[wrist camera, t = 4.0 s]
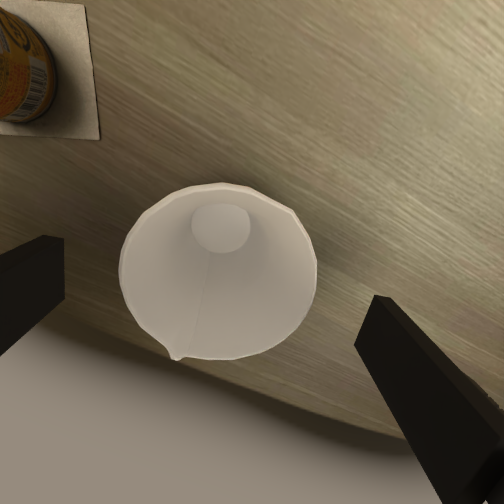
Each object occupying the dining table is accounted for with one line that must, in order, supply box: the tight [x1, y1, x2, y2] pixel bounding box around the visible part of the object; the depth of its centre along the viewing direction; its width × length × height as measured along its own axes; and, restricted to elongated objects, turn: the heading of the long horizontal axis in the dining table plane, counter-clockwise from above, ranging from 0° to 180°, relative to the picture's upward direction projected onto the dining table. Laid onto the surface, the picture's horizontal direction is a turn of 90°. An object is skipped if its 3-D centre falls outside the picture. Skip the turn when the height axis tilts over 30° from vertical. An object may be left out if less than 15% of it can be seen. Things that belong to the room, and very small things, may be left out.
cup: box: [118, 182, 317, 361], centre depth 17 cm, size 9×9×10 cm
